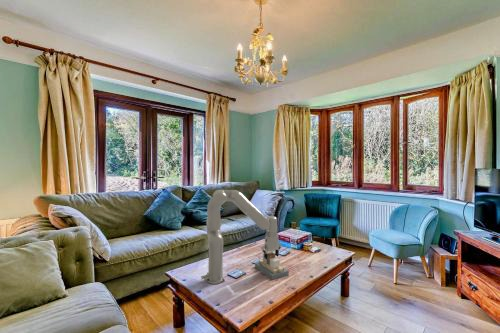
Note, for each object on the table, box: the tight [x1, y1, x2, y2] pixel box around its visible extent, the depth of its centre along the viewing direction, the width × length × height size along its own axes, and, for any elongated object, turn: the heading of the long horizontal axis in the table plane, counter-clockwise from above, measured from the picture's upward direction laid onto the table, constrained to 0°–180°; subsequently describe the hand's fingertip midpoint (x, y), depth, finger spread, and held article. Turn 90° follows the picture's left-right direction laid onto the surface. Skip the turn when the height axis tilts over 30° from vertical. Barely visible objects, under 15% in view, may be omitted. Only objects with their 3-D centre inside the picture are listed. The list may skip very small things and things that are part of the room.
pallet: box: [258, 251, 285, 274], centre depth 166 cm, size 8×20×10 cm, turn 30°
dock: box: [255, 261, 290, 280], centre depth 166 cm, size 14×22×4 cm, turn 30°
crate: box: [270, 256, 281, 268], centre depth 162 cm, size 5×5×5 cm
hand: (271, 257), depth 166 cm, fingers open, 9 cm apart
